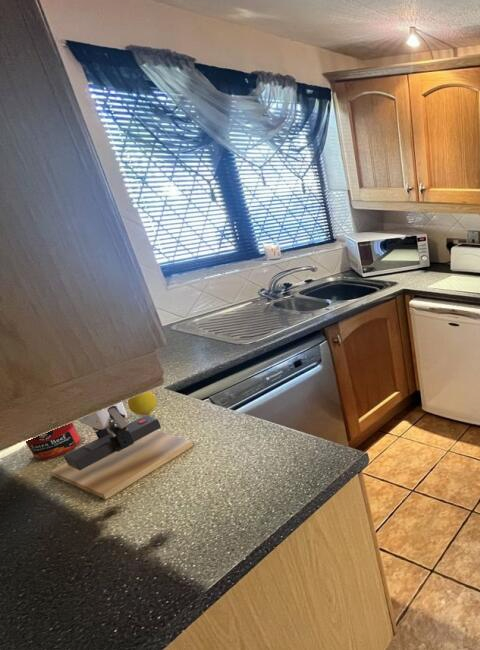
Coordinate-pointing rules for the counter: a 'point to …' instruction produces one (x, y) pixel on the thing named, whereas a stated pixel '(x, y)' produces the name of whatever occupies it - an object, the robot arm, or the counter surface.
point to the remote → (109, 443)
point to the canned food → (54, 442)
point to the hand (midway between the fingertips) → (117, 443)
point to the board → (124, 464)
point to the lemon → (143, 403)
